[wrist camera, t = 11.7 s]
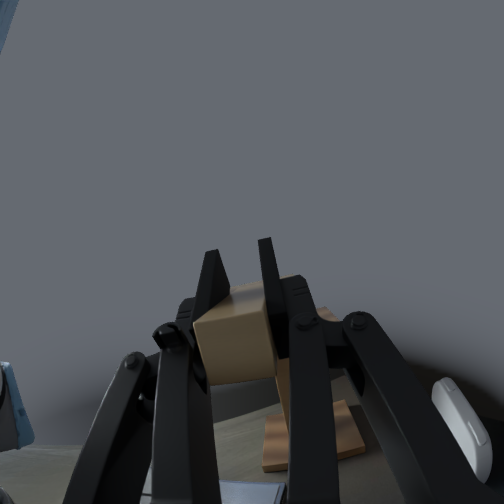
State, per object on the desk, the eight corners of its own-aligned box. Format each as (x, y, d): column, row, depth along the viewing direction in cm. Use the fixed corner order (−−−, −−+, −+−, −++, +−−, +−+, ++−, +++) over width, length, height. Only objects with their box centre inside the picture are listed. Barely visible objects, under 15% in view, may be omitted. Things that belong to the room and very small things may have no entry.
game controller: (479, 498, 9) (502, 448, 9) (461, 506, 10) (482, 458, 10) (442, 411, 28) (446, 366, 28) (429, 415, 28) (432, 370, 29)
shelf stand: (268, 422, 42) (243, 322, 42) (345, 406, 40) (330, 303, 41) (263, 472, 28) (228, 351, 28) (365, 452, 27) (354, 324, 27)
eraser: (237, 314, 31) (230, 281, 31) (298, 301, 30) (291, 268, 30) (163, 420, 9) (133, 331, 9) (348, 395, 8) (334, 293, 8)
